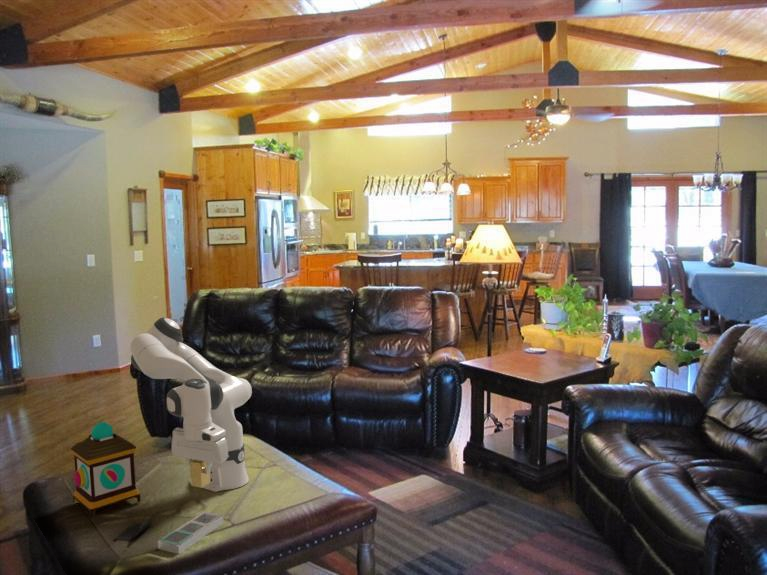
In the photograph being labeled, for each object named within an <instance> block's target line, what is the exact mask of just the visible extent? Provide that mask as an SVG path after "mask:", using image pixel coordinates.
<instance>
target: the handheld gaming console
mask: <svg viewBox="0 0 767 575" xmlns="http://www.w3.org/2000/svg"><path fill="white" fill-rule="evenodd" d="M158 513H159V512H158V511H156V512H155V513H154V514H153V515H151V517H149V518H148V519H147V520H146V521H145V522H143V523H137V522H133V523H132V524H131V525H130V526H128V527H127V528H126V529H125V530H122V532H121V533H119V535H117V536H116V537H114V539H113V541H114V542H117V541H123V542H124V541H125V542H132V541H133V540H134V539H135V538H136V537H138V535H139V534H141V533H142V532H143V531H144V530H145V529H147V528H148V527H149V526H150V525H151V524H152V522H153V521H154V519H155V518H156V516H157V515H158Z"/></svg>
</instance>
